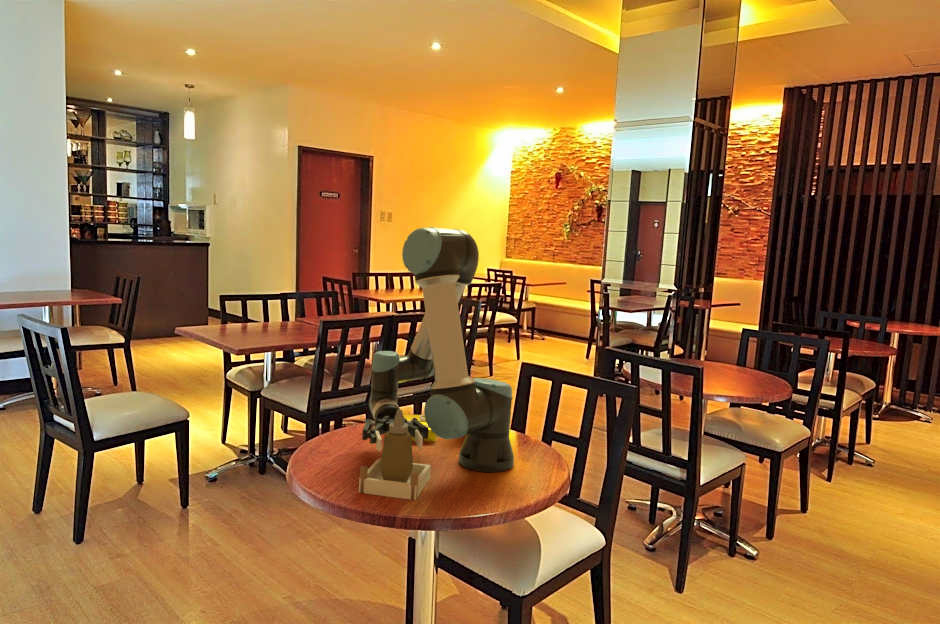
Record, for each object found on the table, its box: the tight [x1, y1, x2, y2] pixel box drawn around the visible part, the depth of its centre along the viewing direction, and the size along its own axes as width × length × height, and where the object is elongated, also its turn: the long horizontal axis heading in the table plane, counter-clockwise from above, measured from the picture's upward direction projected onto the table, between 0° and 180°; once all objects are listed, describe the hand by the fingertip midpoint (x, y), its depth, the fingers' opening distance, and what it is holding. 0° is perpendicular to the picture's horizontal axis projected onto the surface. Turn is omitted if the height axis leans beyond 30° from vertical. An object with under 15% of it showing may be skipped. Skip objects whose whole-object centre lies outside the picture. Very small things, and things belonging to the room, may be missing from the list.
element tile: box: [402, 413, 438, 443], centre depth 199 cm, size 15×15×5 cm
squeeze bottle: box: [380, 409, 414, 483], centre depth 158 cm, size 8×8×18 cm
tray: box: [358, 458, 432, 501], centre depth 158 cm, size 14×14×6 cm
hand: (400, 444), depth 153 cm, fingers open, 9 cm apart
